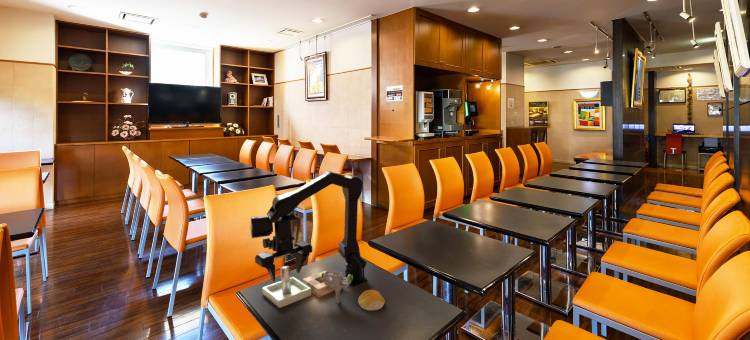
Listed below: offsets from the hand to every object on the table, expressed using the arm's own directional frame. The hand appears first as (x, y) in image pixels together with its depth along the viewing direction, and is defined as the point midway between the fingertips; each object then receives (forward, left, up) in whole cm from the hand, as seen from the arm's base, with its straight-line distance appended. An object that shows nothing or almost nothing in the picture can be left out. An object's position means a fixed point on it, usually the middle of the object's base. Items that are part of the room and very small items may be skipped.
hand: (286, 277), depth 122 cm
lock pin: (0, 0, -6) cm, 6 cm away
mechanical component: (-10, +16, -7) cm, 20 cm away
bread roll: (-17, +24, -7) cm, 31 cm away
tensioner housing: (-12, +4, -6) cm, 14 cm away
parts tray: (0, 0, -6) cm, 6 cm away
